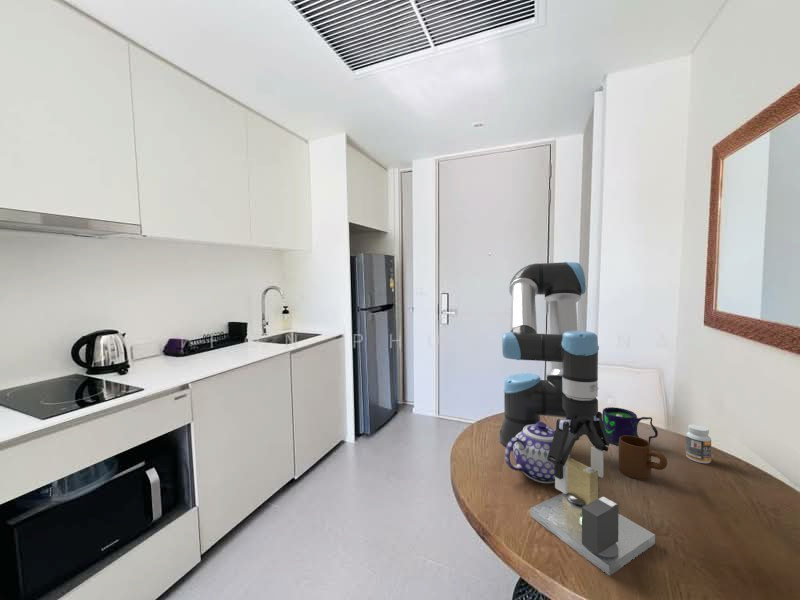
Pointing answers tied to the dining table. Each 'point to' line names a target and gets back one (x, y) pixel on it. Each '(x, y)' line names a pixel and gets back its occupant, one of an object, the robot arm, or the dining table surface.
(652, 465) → the mug
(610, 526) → the dark grey block
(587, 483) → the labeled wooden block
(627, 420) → the mug
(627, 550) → the plate
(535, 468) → the teapot
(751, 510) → the dining table surface
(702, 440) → the pill bottle
